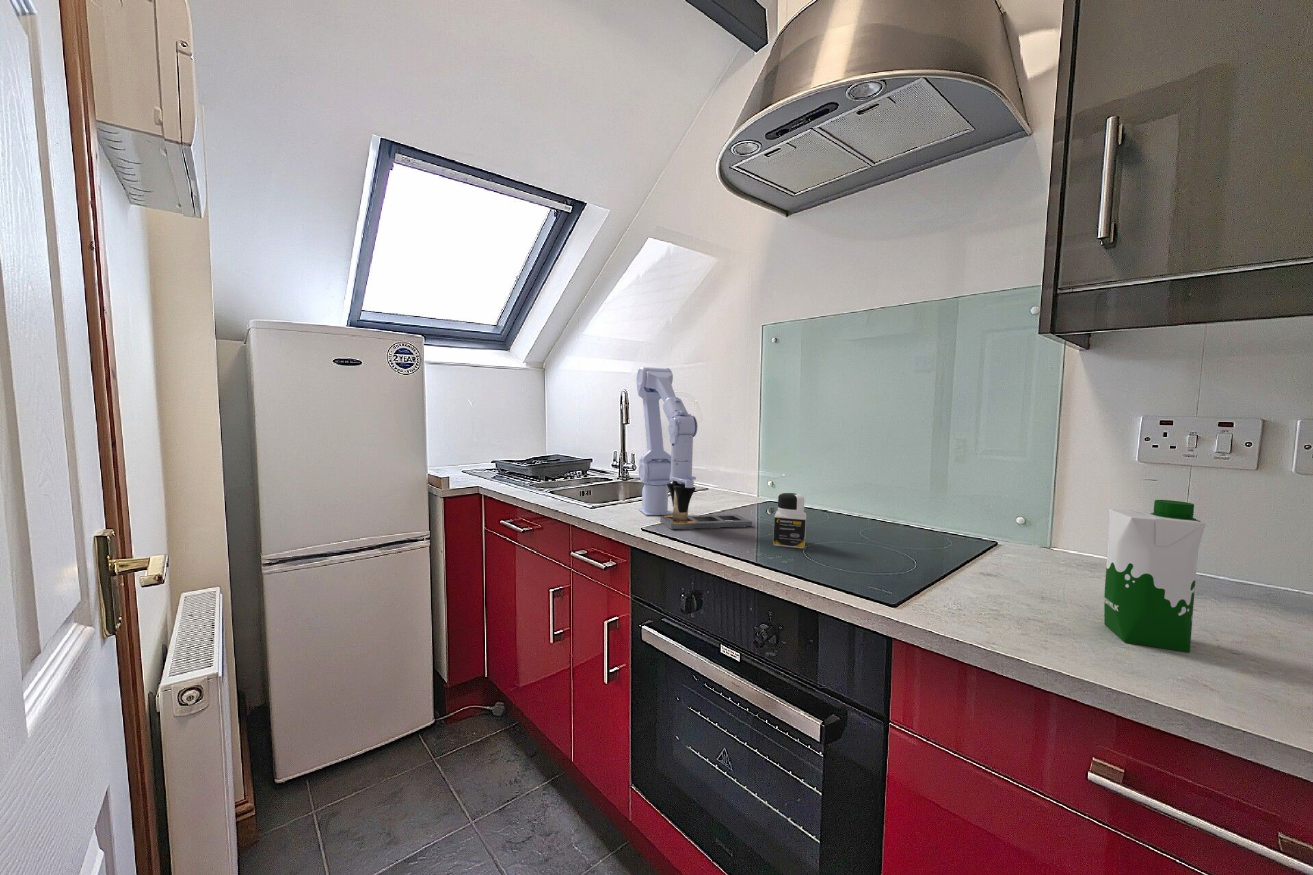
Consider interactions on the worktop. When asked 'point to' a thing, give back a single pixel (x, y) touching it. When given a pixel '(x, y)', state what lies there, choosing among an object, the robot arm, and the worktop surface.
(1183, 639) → the milk carton
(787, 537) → the medicine bottle
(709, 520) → the gray compartment tray
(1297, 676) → the worktop surface
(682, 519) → the peg
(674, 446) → the robot arm
